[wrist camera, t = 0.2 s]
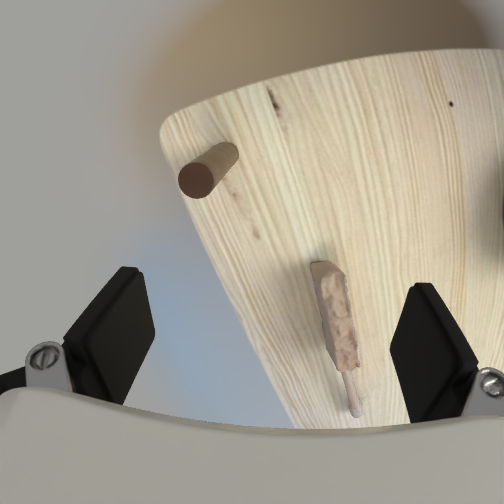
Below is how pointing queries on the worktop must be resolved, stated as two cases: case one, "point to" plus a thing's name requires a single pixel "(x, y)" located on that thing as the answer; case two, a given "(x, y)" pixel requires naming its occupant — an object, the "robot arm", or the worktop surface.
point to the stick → (207, 170)
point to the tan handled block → (338, 325)
